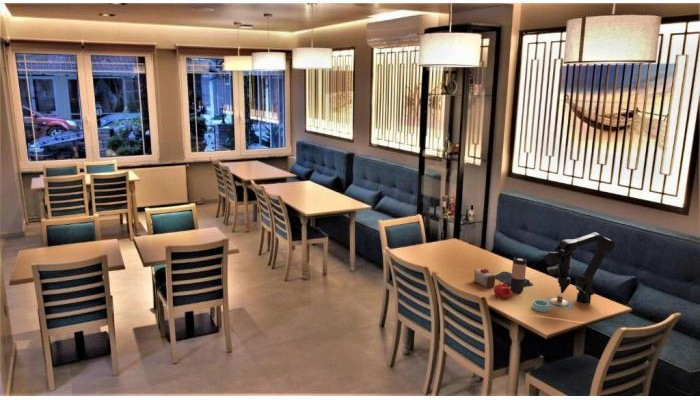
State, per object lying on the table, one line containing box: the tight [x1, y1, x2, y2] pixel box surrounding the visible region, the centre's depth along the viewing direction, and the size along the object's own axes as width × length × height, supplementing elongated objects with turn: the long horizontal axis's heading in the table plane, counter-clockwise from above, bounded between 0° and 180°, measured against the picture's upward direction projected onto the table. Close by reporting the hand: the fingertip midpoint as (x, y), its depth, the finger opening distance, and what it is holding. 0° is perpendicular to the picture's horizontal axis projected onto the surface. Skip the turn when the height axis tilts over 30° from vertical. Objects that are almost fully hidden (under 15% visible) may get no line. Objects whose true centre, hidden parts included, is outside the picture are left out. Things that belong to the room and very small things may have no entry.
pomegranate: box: [493, 281, 513, 300], centre depth 293 cm, size 10×10×9 cm
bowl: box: [531, 299, 550, 313], centre depth 278 cm, size 8×8×4 cm
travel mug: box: [510, 256, 528, 294], centre depth 301 cm, size 8×8×20 cm
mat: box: [545, 296, 574, 311], centre depth 286 cm, size 13×14×1 cm
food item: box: [473, 268, 496, 290], centre depth 310 cm, size 14×8×10 cm, turn 26°
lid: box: [551, 295, 568, 307], centre depth 285 cm, size 9×9×4 cm
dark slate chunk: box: [494, 271, 534, 288], centre depth 317 cm, size 15×22×5 cm
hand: (561, 289), depth 284 cm, fingers open, 9 cm apart
